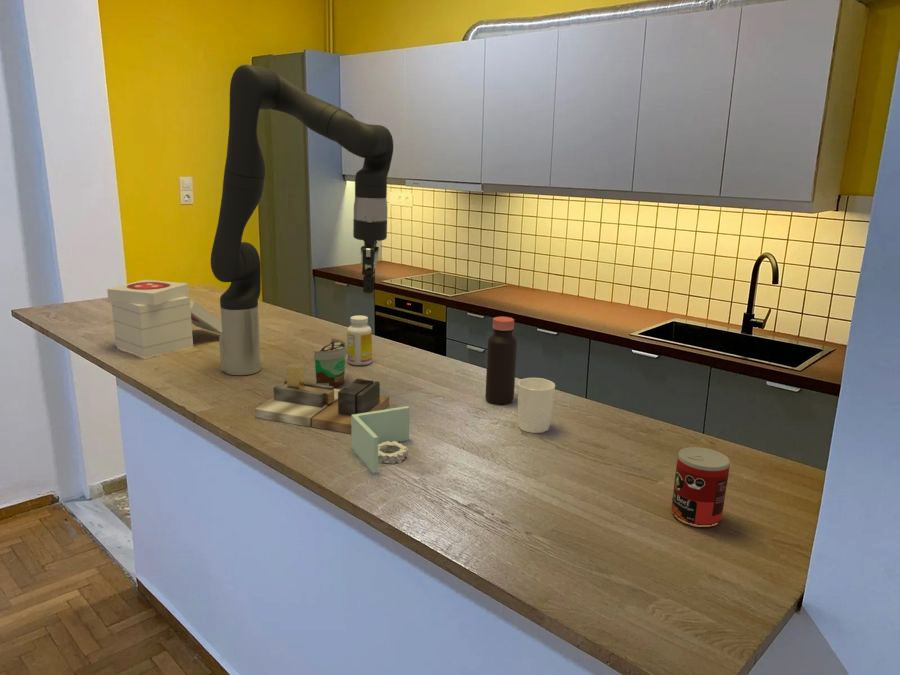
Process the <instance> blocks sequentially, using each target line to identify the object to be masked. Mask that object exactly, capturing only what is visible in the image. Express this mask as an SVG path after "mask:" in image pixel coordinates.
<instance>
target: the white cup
mask: <svg viewBox="0 0 900 675" xmlns="http://www.w3.org/2000/svg"><path fill="white" fill-rule="evenodd" d="M555 390H556V383H555V382H554V381H552V380H548V379H546V378H542V377H526V378H522V379H519V380H518V381H517V417H518V426H517V427H518V428H519V429H520V430H521V431H524V432H527V433H532V434H542V433H546V432H547V431H549V430H550V427H551V426H550V425H551V417H552V413H553V407H554V397H555V396H554V395H555ZM545 431H546V432H545Z"/></svg>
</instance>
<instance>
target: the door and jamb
mask: <svg viewBox="0 0 900 675" xmlns="http://www.w3.org/2000/svg"><path fill="white" fill-rule="evenodd" d="M304 382H305V386H309V387H315V388H322V389H329V390H334V401H333V402H332V403H330V404H326V403H324V393H320V392H313V391H307V390H300V389H294V388H287V387H282V385H275V386H274V387H273V397H272V398H270V399H268V400H267V401H265V402H264V403H262V404H260V405H258V406H257V407H255V408H254V418H257V419H262V420H269V421H273V422H280V423H286V424H293V425H297V426H304V427H310V428H316V429H320V430H328V431H334V432H339V433H346V434H351V435H352V433H351V415H354V414H360V413H366V412H373V411H379V410H385V409H387V408H388V407H389V406H390V396H387V395H380V392H381V391H380V389H381V388H380V387H381V384H380V383H381V381H374V380H368V379H364V378H356V379H354V380H353V381H352V382H350V383H348V384H347V385H346V386H345V387H343V388H341V389H339V388H334V386H327V385H320V384H316V383H314V382H313V383H312V382H306V381H304ZM285 384H287V379H286V380H284V385H285ZM388 405H389V406H388Z"/></svg>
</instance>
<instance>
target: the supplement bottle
mask: <svg viewBox="0 0 900 675" xmlns="http://www.w3.org/2000/svg"><path fill="white" fill-rule="evenodd" d="M349 319H350V320H349V322H350V323H351V324H350V325H349V326H348V328H347V329H346V340H347V341H346V342H347V344H346V345H347V348H348V354H347V355H346V356H347V363H348V364H350V365H352V366H357V367H358V366H366V365H369V364H371V363H372V361H373V342H372V341H373V338H372V336H373V335H372V334H373V333H372V328H371V327H370V325H368V322H369V317H368V316H367V315H352V316H351V317H350V318H349Z"/></svg>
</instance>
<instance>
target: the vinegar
mask: <svg viewBox="0 0 900 675" xmlns="http://www.w3.org/2000/svg"><path fill="white" fill-rule="evenodd" d="M514 329H515V318H513V317H508V316H496V317H493V318H492V331H493V333H492V334H491V335H490V336H489V337H488V339H487V355H486V375H485V376H486V377H485V394H484V395H485V396H484V397H485V401H486V402H488V403H490V404H494V405H509V404H511V403H513V401H514V399H515V385H516V384H515V383H516V367H517V365H516V364H517V351H518V350H517V349H518V340H517V338H516V337H515V336H514V335H513V332H514Z"/></svg>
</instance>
